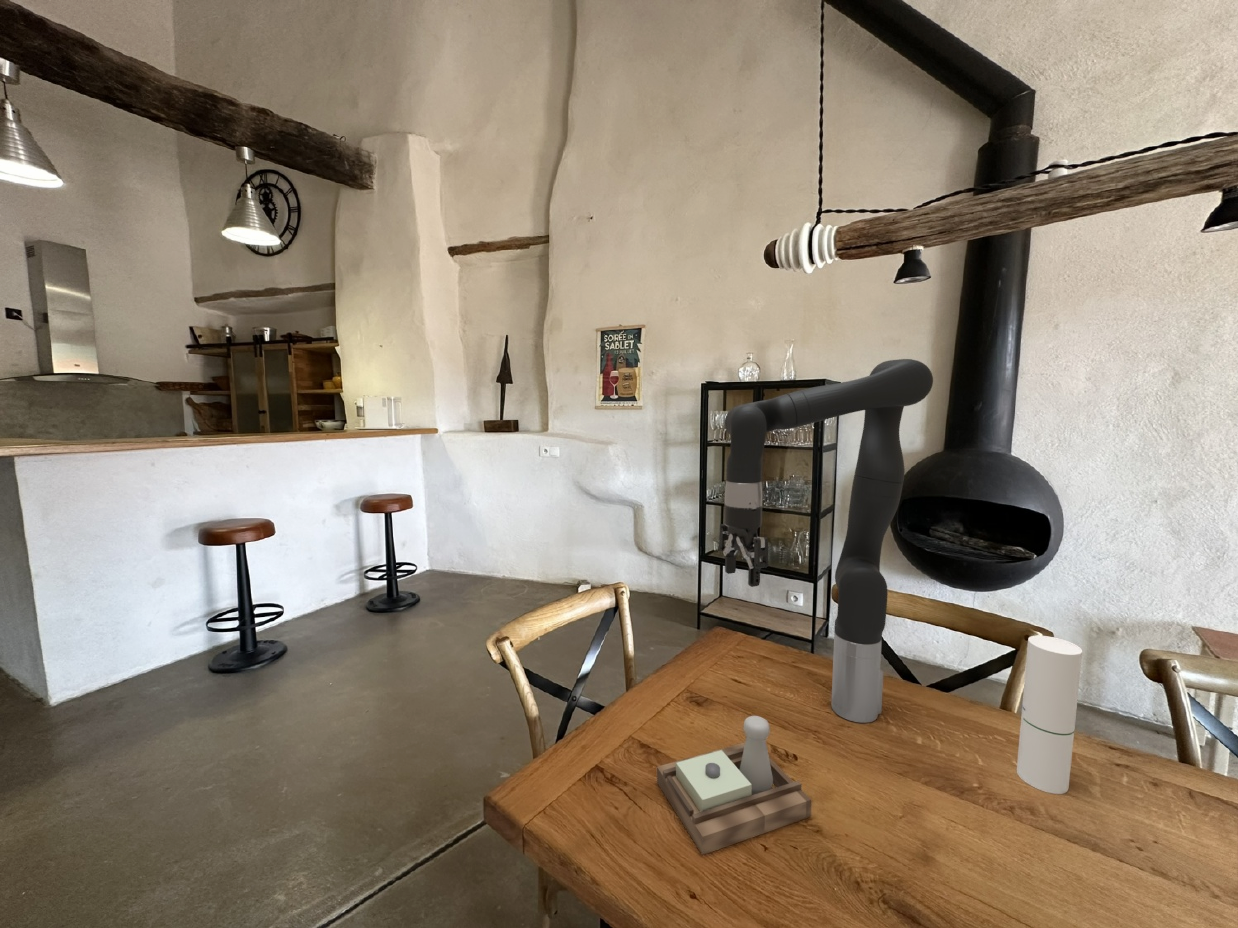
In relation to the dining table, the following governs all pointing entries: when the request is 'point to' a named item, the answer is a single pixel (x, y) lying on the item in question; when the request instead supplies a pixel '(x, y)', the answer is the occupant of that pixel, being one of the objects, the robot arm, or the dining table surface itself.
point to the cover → (712, 780)
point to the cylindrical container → (1049, 713)
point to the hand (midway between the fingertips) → (741, 579)
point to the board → (735, 807)
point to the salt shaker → (756, 755)
